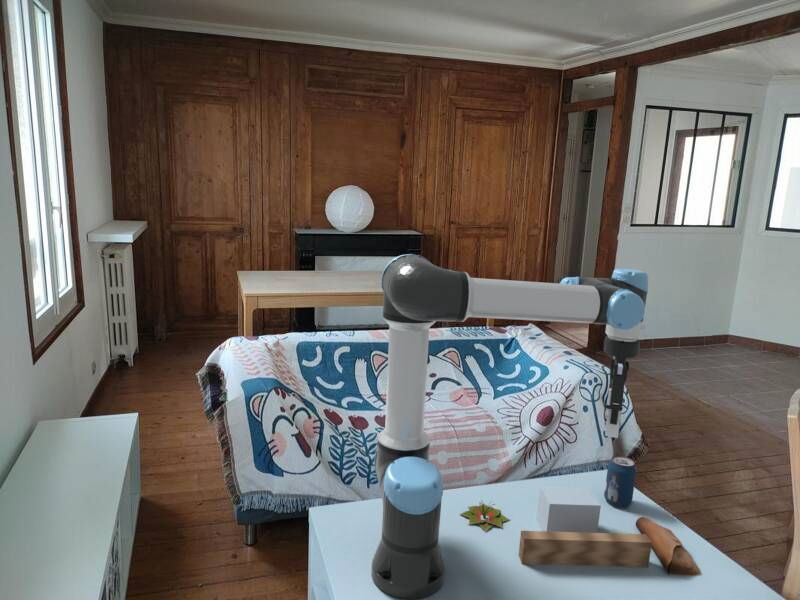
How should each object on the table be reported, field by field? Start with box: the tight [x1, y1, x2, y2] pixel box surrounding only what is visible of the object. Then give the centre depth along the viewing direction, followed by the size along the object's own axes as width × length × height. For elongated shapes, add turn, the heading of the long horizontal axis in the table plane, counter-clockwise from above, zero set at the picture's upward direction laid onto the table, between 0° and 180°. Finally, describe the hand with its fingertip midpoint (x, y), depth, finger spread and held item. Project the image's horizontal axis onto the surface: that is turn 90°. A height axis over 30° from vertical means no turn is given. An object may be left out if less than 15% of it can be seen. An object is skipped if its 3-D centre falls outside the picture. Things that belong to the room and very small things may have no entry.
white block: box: [536, 485, 602, 533], centre depth 137 cm, size 12×8×9 cm, turn 92°
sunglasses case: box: [635, 516, 702, 576], centre depth 132 cm, size 18×7×7 cm, turn 179°
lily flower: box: [460, 500, 511, 532], centre depth 141 cm, size 12×12×5 cm
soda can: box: [603, 455, 637, 509], centre depth 150 cm, size 7×7×12 cm
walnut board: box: [518, 530, 652, 568], centre depth 126 cm, size 28×3×6 cm, turn 92°
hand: (611, 425), depth 134 cm, fingers open, 13 cm apart
